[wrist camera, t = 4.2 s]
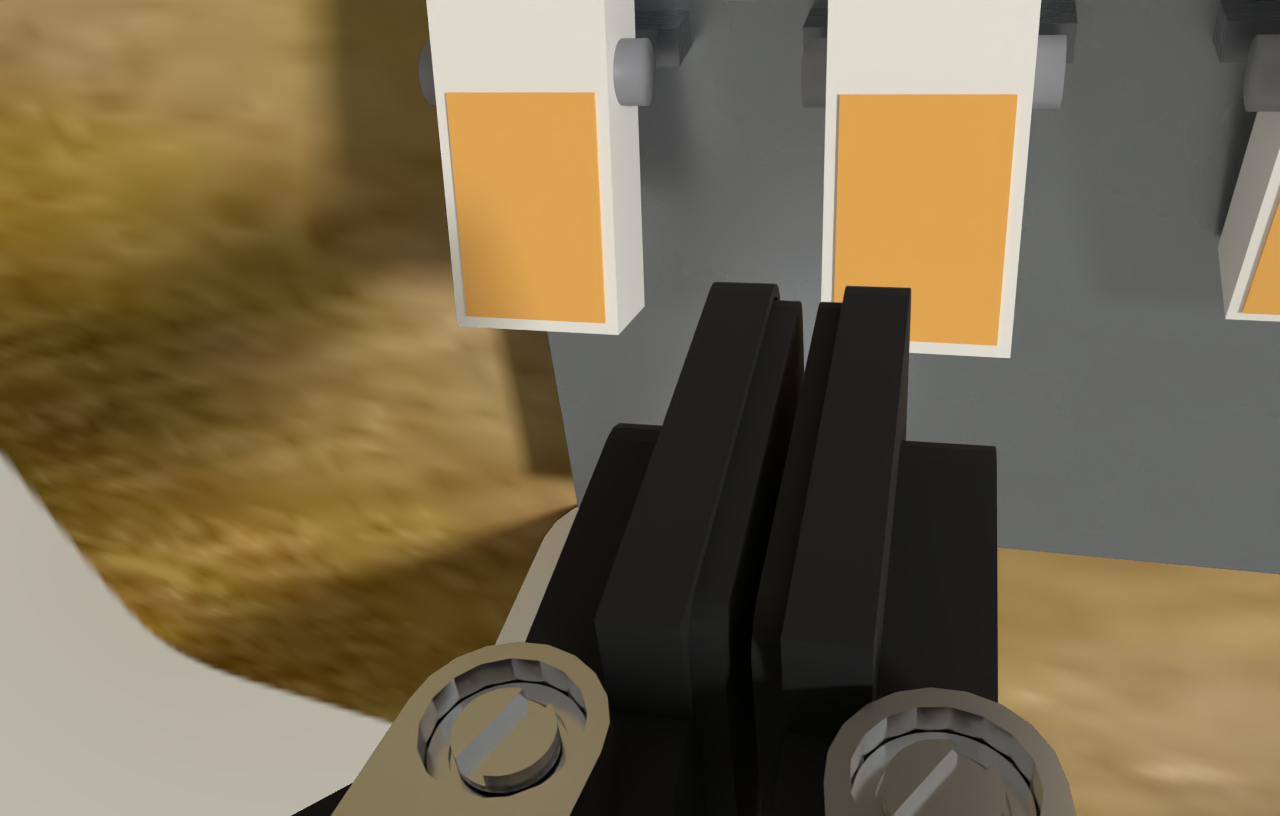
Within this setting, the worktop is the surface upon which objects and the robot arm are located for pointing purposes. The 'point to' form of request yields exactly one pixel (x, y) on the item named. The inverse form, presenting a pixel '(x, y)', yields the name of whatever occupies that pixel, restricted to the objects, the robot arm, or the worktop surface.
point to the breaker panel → (1046, 281)
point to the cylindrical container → (536, 582)
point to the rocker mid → (931, 156)
